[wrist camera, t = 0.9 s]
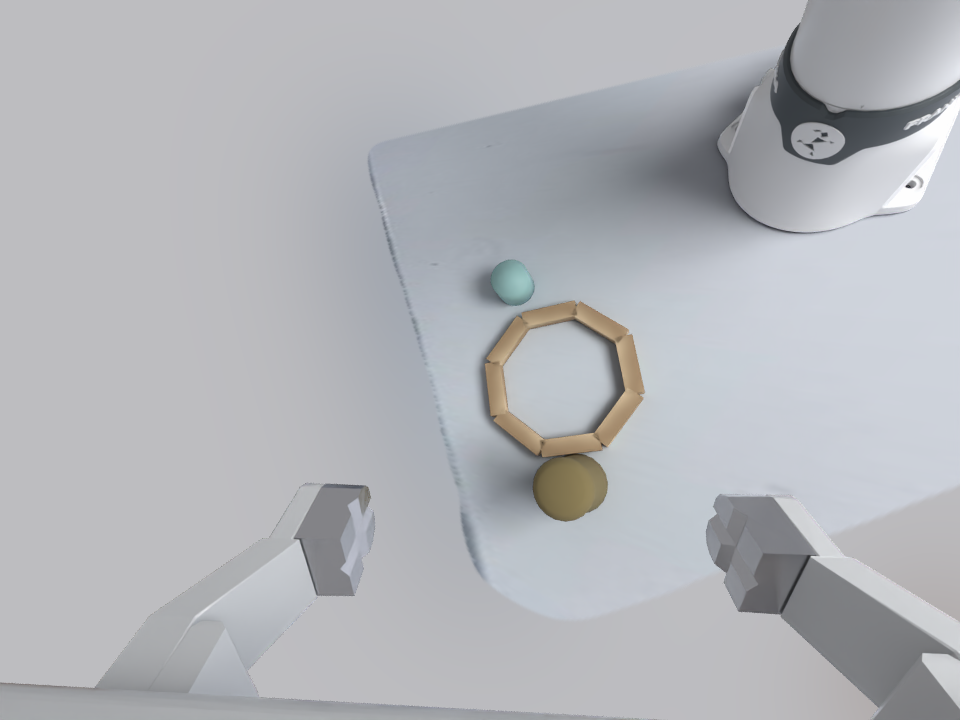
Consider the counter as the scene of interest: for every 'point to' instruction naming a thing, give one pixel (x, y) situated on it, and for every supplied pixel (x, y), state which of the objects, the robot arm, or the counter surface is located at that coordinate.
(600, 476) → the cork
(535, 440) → the wooden segmented ring
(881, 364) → the counter surface
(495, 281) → the loose bead
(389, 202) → the counter surface
